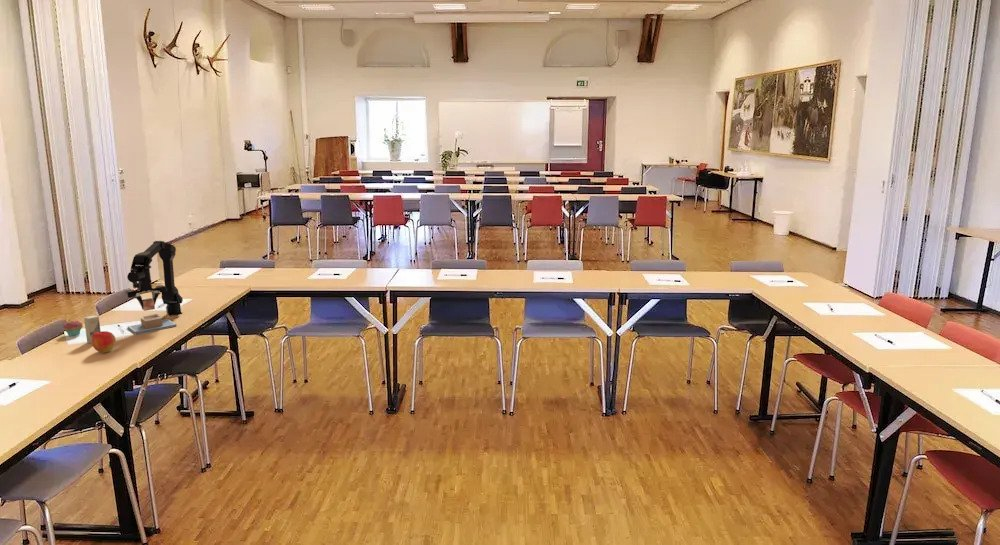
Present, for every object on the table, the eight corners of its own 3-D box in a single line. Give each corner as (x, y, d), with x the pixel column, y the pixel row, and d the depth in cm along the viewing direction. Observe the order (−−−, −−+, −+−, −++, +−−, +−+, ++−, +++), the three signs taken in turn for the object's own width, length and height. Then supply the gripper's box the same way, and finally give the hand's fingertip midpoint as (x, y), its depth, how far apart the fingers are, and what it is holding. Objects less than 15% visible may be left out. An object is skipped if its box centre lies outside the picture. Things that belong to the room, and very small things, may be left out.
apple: (105, 355, 307) (102, 335, 304) (88, 354, 308) (85, 334, 306) (121, 349, 316) (118, 329, 314) (104, 347, 318) (101, 327, 315)
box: (91, 344, 323) (87, 318, 320) (86, 342, 325) (83, 317, 323) (102, 341, 327) (99, 316, 325) (97, 339, 330) (94, 314, 327)
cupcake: (74, 338, 332) (70, 315, 330) (60, 337, 334) (56, 314, 331) (87, 332, 341) (84, 310, 338) (73, 331, 342) (70, 309, 340)
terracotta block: (152, 307, 351) (151, 298, 350) (154, 309, 347) (153, 299, 346) (141, 308, 347) (140, 299, 346) (144, 310, 344) (143, 301, 343)
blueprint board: (168, 320, 361) (166, 310, 360) (176, 326, 351) (175, 315, 350) (127, 328, 348) (126, 317, 346) (135, 334, 338) (133, 323, 336)
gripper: (159, 272, 356) (162, 300, 359) (120, 278, 343) (124, 307, 347) (165, 276, 347) (168, 304, 351) (126, 282, 335) (130, 311, 339)
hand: (148, 307), depth 347 cm, fingers closed on terracotta block, 5 cm apart
